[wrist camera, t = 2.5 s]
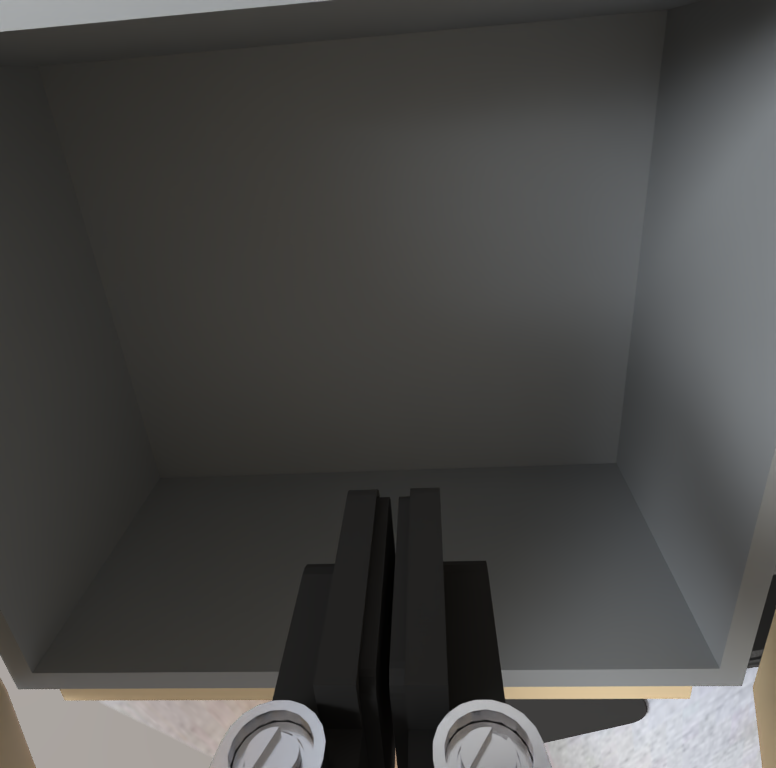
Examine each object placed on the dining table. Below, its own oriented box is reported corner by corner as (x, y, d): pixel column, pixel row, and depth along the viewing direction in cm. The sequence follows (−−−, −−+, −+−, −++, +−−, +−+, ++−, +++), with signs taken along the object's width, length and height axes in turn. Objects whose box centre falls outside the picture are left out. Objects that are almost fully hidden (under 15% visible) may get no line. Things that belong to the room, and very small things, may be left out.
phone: (651, 719, 38) (428, 770, 41) (647, 707, 38) (427, 757, 42) (621, 641, 35) (383, 702, 38) (617, 629, 36) (384, 690, 39)
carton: (16, 26, 22) (-354, -21, 12) (688, -39, 20) (980, -165, 10) (157, 491, 32) (24, 700, 21) (625, 476, 30) (738, 698, 19)
